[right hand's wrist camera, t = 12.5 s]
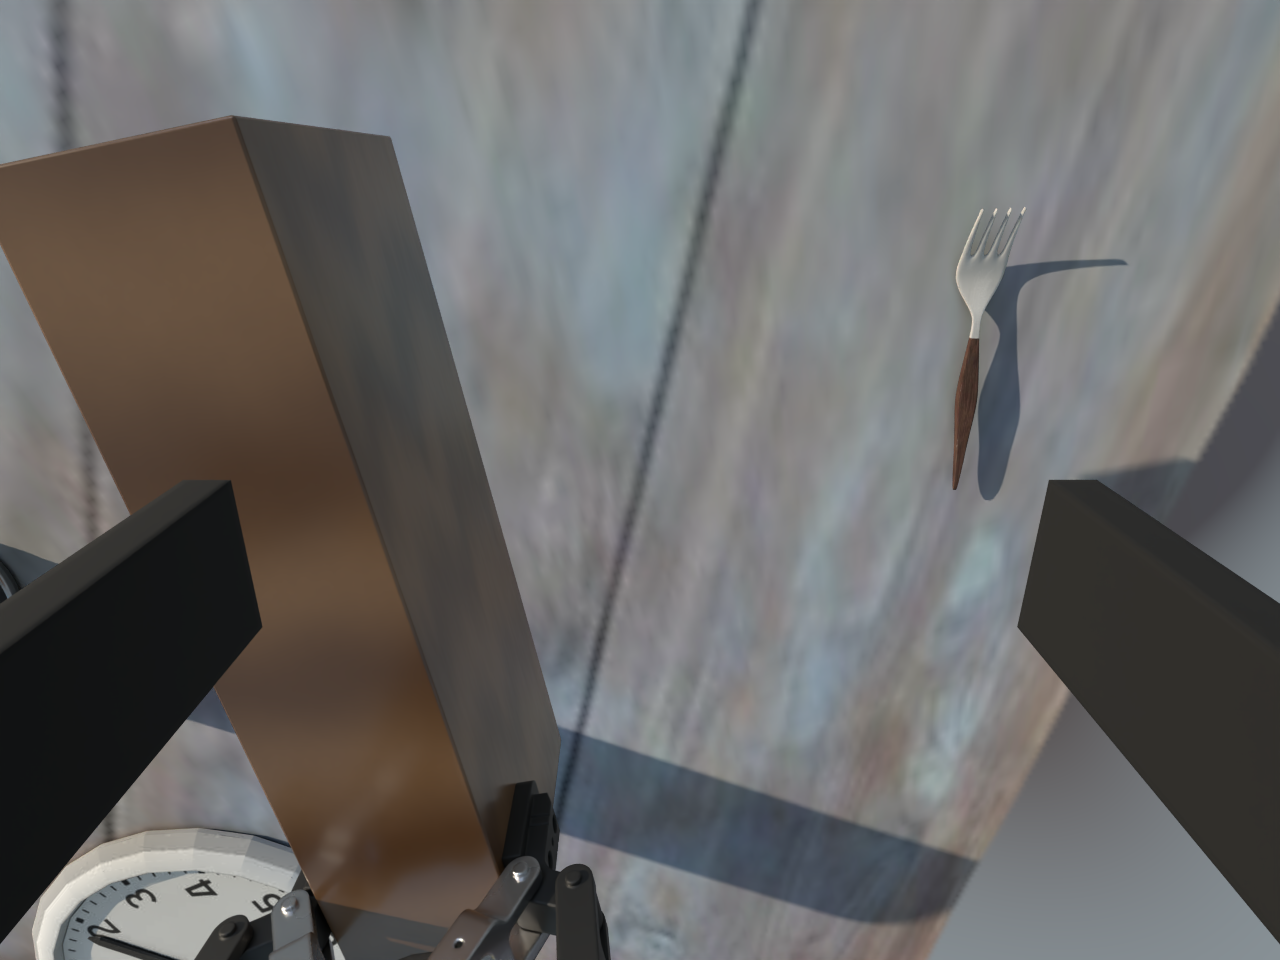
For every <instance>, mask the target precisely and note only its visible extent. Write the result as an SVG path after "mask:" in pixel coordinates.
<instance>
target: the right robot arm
mask: <svg viewBox="0 0 1280 960" xmlns="http://www.w3.org/2000/svg"><path fill="white" fill-rule="evenodd" d="M262 627H263V626H262V622H261V617H260V612H259V608H258V603H257V599H256V594H255V589H254V585H253V580H252V575H251V571H250V566H249V561H248V557H247V552H246V548H245V543H244V538H243V534H242V529H241V524H240V520H239V515H238V510H237V506H236V501H235V497H234V492H233V487H232V483H231V480H182V481H181V482H179V483H178V484H176V485H175V486H173V487H172V488H171V489H169V490H168V491H166V492H165V493H163V494H162V495H160V496H159V497H157V498H156V499H154V500H153V501H151V502H150V503H148V504H147V505H145V506H144V507H142V508H141V509H139V510H138V511H137V512H135V513H134V514H132V515H131V516H129V517H128V518H126V519H125V520H123V521H122V522H120V523H119V524H117V525H116V526H114V527H113V528H111V529H110V530H108V531H107V532H105V533H104V534H102V535H101V536H100V537H98V538H97V539H95V540H94V541H92V542H91V543H89V544H88V545H86V546H85V547H83V548H82V549H80V550H79V551H77V552H76V553H74V554H73V555H71V556H70V557H68V558H67V559H66V560H64V561H63V562H61V563H60V564H58V565H57V566H55V567H54V568H52V569H51V570H49V571H48V572H46V573H45V574H43V575H42V576H40V577H39V578H37V579H36V580H34V581H33V582H32V583H30V584H29V585H27V586H26V587H24V588H23V589H21V590H20V591H18V592H17V593H15V594H14V595H12V596H11V597H9V598H8V599H6V600H5V601H3V602H2V603H0V944H1V942H2V941H3V940H4V939H5V938H6V936H7V935H8V934H9V933H10V932H11V930H12V929H13V928H14V927H15V926H16V924H17V923H18V922H19V921H20V919H21V918H22V917H23V916H24V915H25V913H26V912H27V911H28V910H29V909H30V907H31V906H32V905H33V904H34V903H35V901H36V900H37V899H38V898H39V897H40V895H41V894H42V893H43V892H44V890H45V889H46V888H47V887H48V886H49V884H50V883H51V882H52V881H53V880H54V878H55V877H56V876H57V875H58V874H59V872H60V871H61V870H62V869H63V868H64V866H65V865H66V864H67V863H68V861H69V860H70V859H71V858H72V857H73V855H74V854H75V853H76V852H77V851H78V849H79V848H80V847H81V846H82V845H83V843H84V842H85V841H86V840H87V839H88V837H89V836H90V835H91V834H92V832H93V831H94V830H95V829H96V828H97V826H98V825H99V824H100V823H101V822H102V820H103V819H104V818H105V817H106V816H107V814H108V813H109V812H110V811H111V810H112V808H113V807H114V806H115V805H116V803H117V802H118V801H119V800H120V799H121V797H122V796H123V795H124V794H125V793H126V791H127V790H128V789H129V788H130V787H131V785H132V784H133V783H134V782H135V781H136V779H137V778H138V777H139V776H140V775H141V773H142V772H143V771H144V770H145V768H146V767H147V766H148V765H149V764H150V762H151V761H152V760H153V759H154V758H155V756H156V755H157V754H158V753H159V752H160V750H161V749H162V748H163V747H164V746H165V744H166V743H167V742H168V741H169V739H170V738H171V737H172V736H173V735H174V733H175V732H176V731H177V730H178V729H179V727H180V726H181V725H182V724H183V723H184V721H185V720H186V719H187V718H188V717H189V715H190V714H191V713H192V712H193V710H194V709H195V708H196V707H197V706H198V704H199V703H200V702H201V701H202V700H203V698H204V697H205V696H206V695H207V694H208V692H209V691H210V690H211V689H212V688H213V686H214V685H215V684H216V683H217V681H218V680H219V679H220V678H221V677H222V675H223V674H224V673H225V672H226V671H227V669H228V668H229V667H230V666H231V665H232V663H233V662H234V661H235V660H236V659H237V657H238V656H239V655H240V654H241V652H242V651H243V650H244V649H245V648H246V646H247V645H248V644H249V643H250V642H251V640H252V639H253V638H254V637H255V636H256V634H257V633H258V632H259V631H260V630H261V628H262ZM1017 627H1018V628H1019V630H1020V631H1021V632H1022V633H1023V634H1024V636H1025V637H1026V638H1027V639H1028V640H1029V642H1030V643H1031V644H1032V645H1033V646H1034V648H1035V649H1036V650H1037V651H1038V652H1039V654H1040V655H1041V656H1042V657H1043V659H1044V660H1045V661H1046V662H1047V663H1048V665H1049V666H1050V667H1051V668H1052V669H1053V671H1054V672H1055V673H1056V674H1057V675H1058V677H1059V678H1060V679H1061V680H1062V681H1063V683H1064V684H1065V685H1066V686H1067V688H1068V689H1069V690H1070V691H1071V692H1072V694H1073V695H1074V696H1075V697H1076V698H1077V700H1078V701H1079V702H1080V703H1081V704H1082V706H1083V707H1084V708H1085V709H1086V710H1087V712H1088V713H1089V714H1090V715H1091V717H1092V718H1093V719H1094V720H1095V721H1096V723H1097V724H1098V725H1099V726H1100V727H1101V729H1102V730H1103V731H1104V732H1105V733H1106V735H1107V736H1108V737H1109V738H1110V739H1111V741H1112V742H1113V743H1114V744H1115V745H1116V747H1117V748H1118V749H1119V750H1120V752H1121V753H1122V754H1123V755H1124V756H1125V758H1126V759H1127V760H1128V761H1129V762H1130V764H1131V765H1132V766H1133V767H1134V768H1135V770H1136V771H1137V772H1138V773H1139V775H1140V776H1141V777H1142V778H1143V779H1144V781H1145V782H1146V783H1147V784H1148V785H1149V786H1150V788H1151V789H1152V790H1153V791H1154V793H1155V794H1156V795H1157V796H1158V797H1159V799H1160V800H1161V801H1162V802H1163V803H1164V805H1165V806H1166V807H1167V808H1168V810H1169V811H1170V812H1171V813H1172V814H1173V815H1174V817H1175V818H1176V819H1177V820H1178V822H1179V823H1180V824H1181V825H1182V826H1183V828H1184V829H1185V830H1186V831H1187V832H1188V834H1189V835H1190V836H1191V837H1192V839H1193V840H1194V841H1195V842H1196V843H1197V845H1198V846H1199V847H1200V848H1201V849H1202V851H1203V852H1204V853H1205V854H1206V855H1207V857H1208V858H1209V859H1210V860H1211V861H1212V863H1213V864H1214V865H1215V866H1216V867H1217V869H1218V870H1219V871H1220V872H1221V874H1222V875H1223V876H1224V877H1225V878H1226V880H1227V881H1228V882H1229V883H1230V884H1231V886H1232V887H1233V888H1234V889H1235V890H1236V892H1237V893H1238V894H1239V895H1240V897H1241V898H1242V899H1243V900H1244V901H1245V903H1246V904H1247V905H1248V906H1249V907H1250V909H1251V910H1252V911H1253V912H1254V913H1255V915H1256V916H1257V917H1258V918H1259V919H1260V921H1261V922H1262V923H1263V924H1264V926H1265V927H1266V928H1267V929H1268V930H1269V932H1270V933H1271V934H1272V935H1273V936H1274V938H1275V939H1276V940H1277V941H1278V942H1279V944H1280V603H1278V602H1277V601H1275V600H1274V599H1272V598H1271V597H1269V596H1268V595H1266V594H1265V593H1263V592H1262V591H1260V590H1259V589H1257V588H1256V587H1254V586H1253V585H1251V584H1250V583H1248V582H1247V581H1246V580H1244V579H1243V578H1241V577H1240V576H1238V575H1237V574H1235V573H1234V572H1232V571H1231V570H1229V569H1228V568H1226V567H1225V566H1223V565H1222V564H1220V563H1219V562H1217V561H1216V560H1214V559H1213V558H1212V557H1210V556H1209V555H1207V554H1206V553H1204V552H1203V551H1201V550H1200V549H1198V548H1197V547H1195V546H1194V545H1192V544H1191V543H1189V542H1188V541H1186V540H1185V539H1183V538H1182V537H1180V536H1179V535H1177V534H1176V533H1175V532H1173V531H1172V530H1170V529H1169V528H1167V527H1166V526H1164V525H1163V524H1161V523H1160V522H1158V521H1157V520H1155V519H1154V518H1152V517H1151V516H1149V515H1148V514H1146V513H1145V512H1143V511H1142V510H1141V509H1139V508H1138V507H1136V506H1135V505H1133V504H1132V503H1130V502H1129V501H1127V500H1126V499H1124V498H1123V497H1121V496H1120V495H1118V494H1117V493H1115V492H1114V491H1112V490H1111V489H1109V488H1108V487H1107V486H1105V485H1104V484H1102V483H1101V482H1099V481H1098V480H1049V483H1048V487H1047V492H1046V496H1045V501H1044V506H1043V510H1042V515H1041V520H1040V524H1039V529H1038V534H1037V538H1036V543H1035V548H1034V552H1033V557H1032V561H1031V566H1030V571H1029V575H1028V580H1027V585H1026V589H1025V594H1024V599H1023V603H1022V608H1021V612H1020V617H1019V622H1018V626H1017Z"/></svg>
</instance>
